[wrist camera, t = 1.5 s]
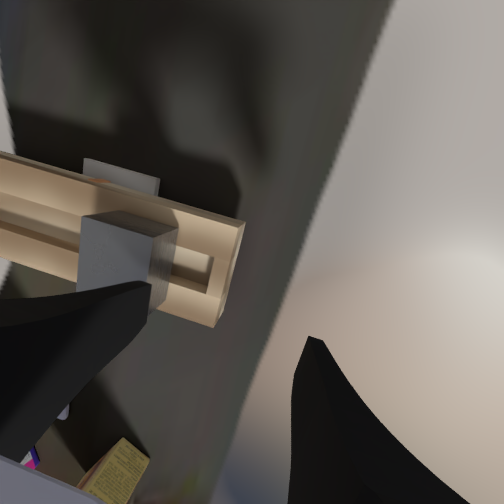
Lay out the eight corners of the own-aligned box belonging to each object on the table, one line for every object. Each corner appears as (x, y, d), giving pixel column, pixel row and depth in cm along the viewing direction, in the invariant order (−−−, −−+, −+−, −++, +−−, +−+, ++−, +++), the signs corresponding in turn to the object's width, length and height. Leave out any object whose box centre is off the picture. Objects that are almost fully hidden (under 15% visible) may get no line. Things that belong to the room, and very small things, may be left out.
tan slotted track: (226, 310, 22) (210, 340, 18) (7, 239, 24) (-54, 251, 20) (254, 205, 20) (242, 211, 15) (6, 134, 22) (-65, 123, 17)
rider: (173, 293, 19) (140, 323, 15) (121, 276, 19) (75, 301, 15) (186, 225, 17) (153, 237, 13) (129, 208, 18) (81, 215, 14)
